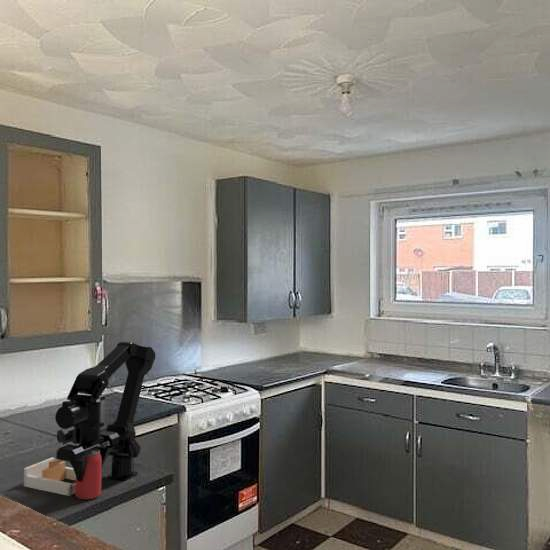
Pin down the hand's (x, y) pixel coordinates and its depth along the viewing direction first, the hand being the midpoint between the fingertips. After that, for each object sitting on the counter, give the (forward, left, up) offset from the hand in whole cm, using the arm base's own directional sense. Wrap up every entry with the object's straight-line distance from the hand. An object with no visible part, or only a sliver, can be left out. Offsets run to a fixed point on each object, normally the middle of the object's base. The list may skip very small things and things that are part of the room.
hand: (88, 477), depth 153 cm
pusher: (-3, -15, -5) cm, 16 cm away
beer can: (0, 0, -5) cm, 5 cm away
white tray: (-3, -13, -5) cm, 14 cm away
